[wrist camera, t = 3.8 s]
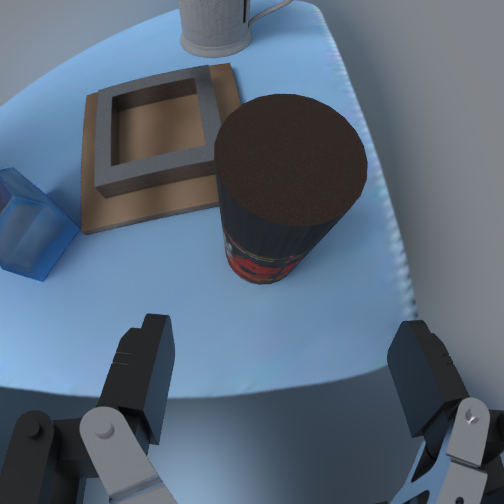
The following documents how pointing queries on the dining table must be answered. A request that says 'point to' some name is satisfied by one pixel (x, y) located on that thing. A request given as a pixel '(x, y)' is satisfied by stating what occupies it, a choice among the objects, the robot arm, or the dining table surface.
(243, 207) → the deodorant
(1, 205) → the perfume bottle
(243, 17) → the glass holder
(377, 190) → the dining table surface
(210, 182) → the locating plate
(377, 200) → the dining table surface
